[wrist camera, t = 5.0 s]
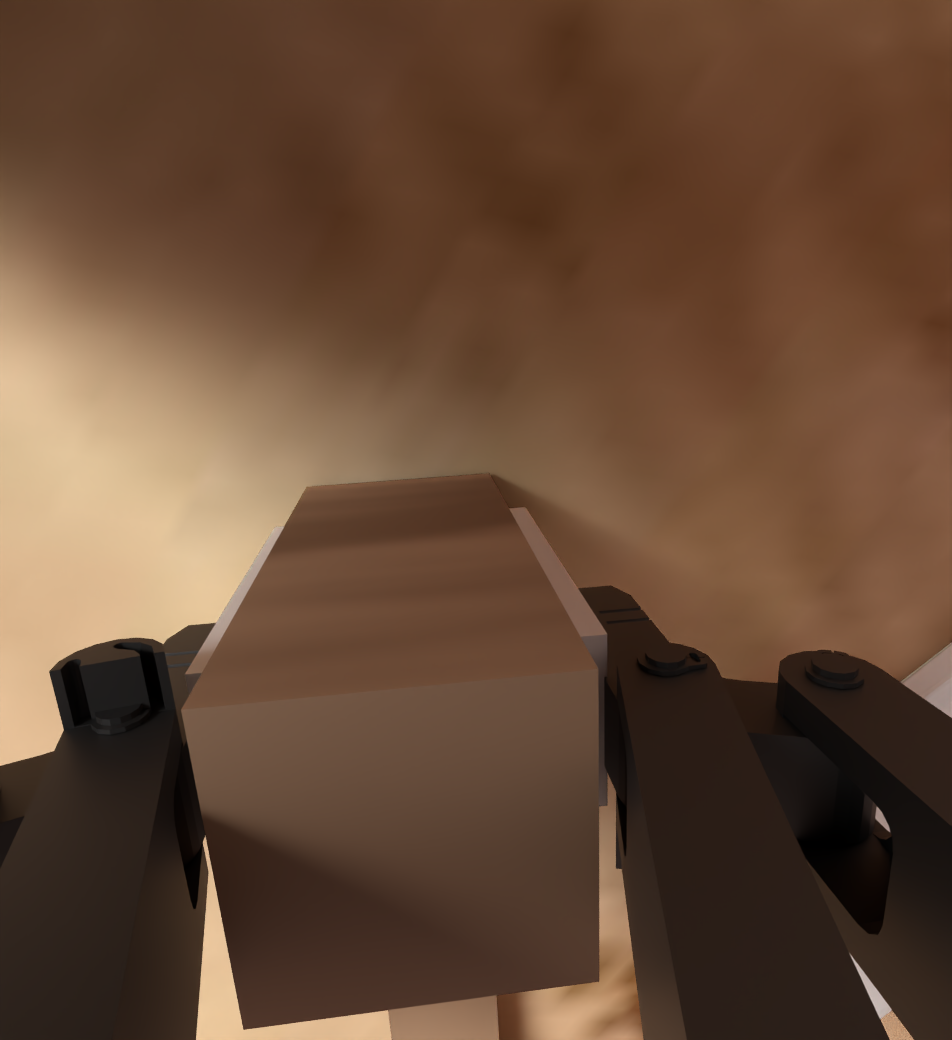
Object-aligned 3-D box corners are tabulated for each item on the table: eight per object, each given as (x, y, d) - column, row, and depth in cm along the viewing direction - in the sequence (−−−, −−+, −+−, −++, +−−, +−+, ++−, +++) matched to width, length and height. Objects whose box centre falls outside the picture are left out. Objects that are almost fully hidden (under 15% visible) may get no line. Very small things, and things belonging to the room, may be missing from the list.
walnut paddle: (306, 486, 15) (180, 710, 7) (489, 473, 15) (598, 669, 7) (387, 1138, 21) (377, 1714, 12) (520, 1117, 21) (601, 1666, 13)
